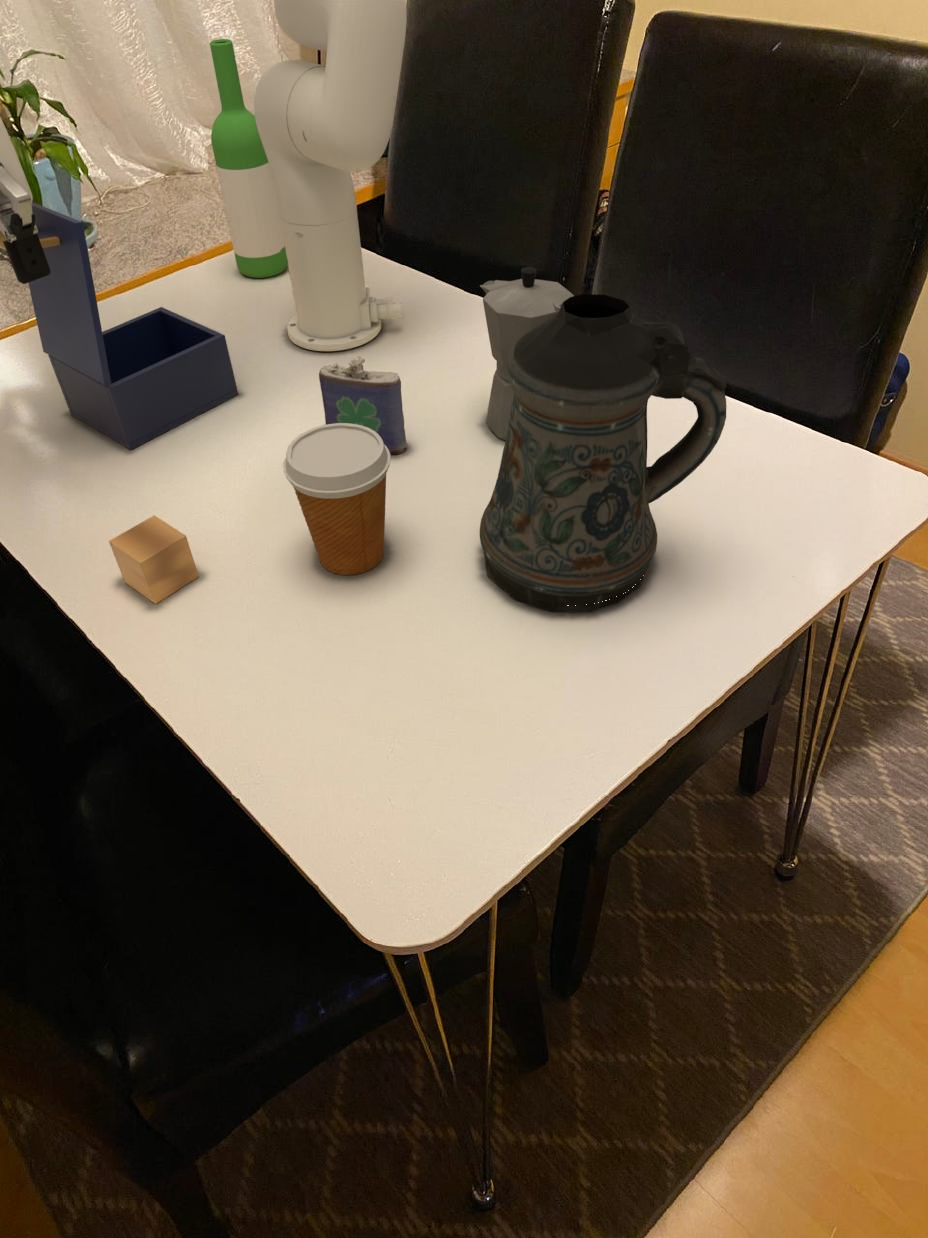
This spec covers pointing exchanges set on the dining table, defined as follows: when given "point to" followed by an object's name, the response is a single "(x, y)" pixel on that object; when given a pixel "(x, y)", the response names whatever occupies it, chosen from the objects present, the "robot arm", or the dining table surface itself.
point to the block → (154, 559)
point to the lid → (67, 296)
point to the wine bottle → (245, 175)
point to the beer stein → (590, 454)
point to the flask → (365, 401)
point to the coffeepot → (514, 330)
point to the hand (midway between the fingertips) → (9, 266)
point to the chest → (151, 378)
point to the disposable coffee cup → (341, 493)
